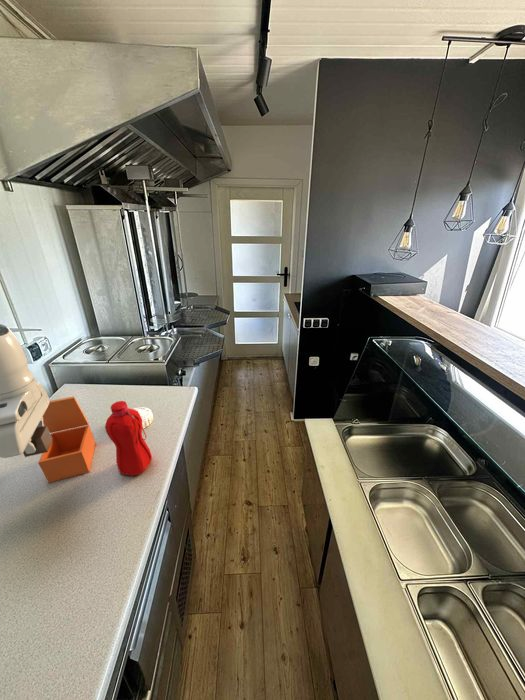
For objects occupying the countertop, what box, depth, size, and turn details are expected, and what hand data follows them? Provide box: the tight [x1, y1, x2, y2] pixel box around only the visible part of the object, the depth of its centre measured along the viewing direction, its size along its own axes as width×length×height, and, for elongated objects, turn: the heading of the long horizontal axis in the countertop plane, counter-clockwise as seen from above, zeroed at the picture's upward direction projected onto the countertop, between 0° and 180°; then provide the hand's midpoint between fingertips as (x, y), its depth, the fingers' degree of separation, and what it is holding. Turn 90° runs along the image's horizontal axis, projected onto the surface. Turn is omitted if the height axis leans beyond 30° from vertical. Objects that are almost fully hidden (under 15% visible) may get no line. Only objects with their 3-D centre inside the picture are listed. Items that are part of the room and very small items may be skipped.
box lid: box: [43, 395, 90, 434], centre depth 94 cm, size 14×12×1 cm
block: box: [22, 426, 53, 458], centre depth 68 cm, size 4×4×4 cm
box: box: [37, 424, 97, 483], centre depth 95 cm, size 14×12×9 cm
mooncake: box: [133, 406, 154, 430], centre depth 114 cm, size 12×12×4 cm
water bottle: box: [104, 400, 153, 477], centre depth 90 cm, size 9×11×25 cm
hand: (36, 442), depth 69 cm, fingers closed on block, 4 cm apart
